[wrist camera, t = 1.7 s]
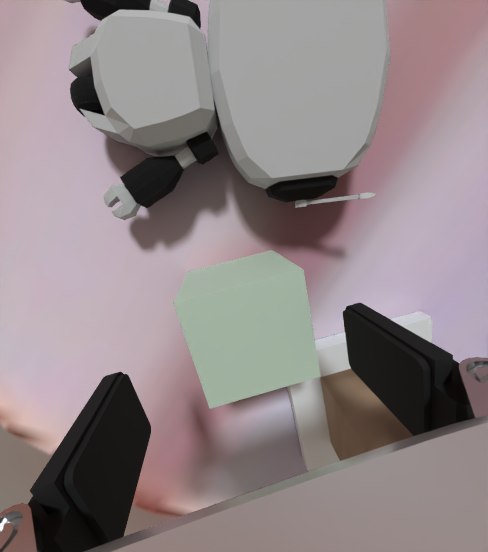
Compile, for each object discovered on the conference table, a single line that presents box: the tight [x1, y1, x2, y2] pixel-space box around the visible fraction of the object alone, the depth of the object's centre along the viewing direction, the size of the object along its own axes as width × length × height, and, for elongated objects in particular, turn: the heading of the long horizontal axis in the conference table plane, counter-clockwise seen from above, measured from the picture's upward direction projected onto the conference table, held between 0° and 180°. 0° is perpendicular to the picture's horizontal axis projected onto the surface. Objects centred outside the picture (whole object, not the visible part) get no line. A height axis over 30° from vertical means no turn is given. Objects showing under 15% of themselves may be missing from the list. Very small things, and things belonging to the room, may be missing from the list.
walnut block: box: [320, 369, 413, 461], centre depth 16 cm, size 7×7×6 cm
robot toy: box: [65, 0, 390, 220], centre depth 12 cm, size 12×4×15 cm
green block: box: [173, 250, 321, 409], centre depth 14 cm, size 6×6×6 cm
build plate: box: [287, 311, 432, 471], centre depth 20 cm, size 12×12×1 cm
